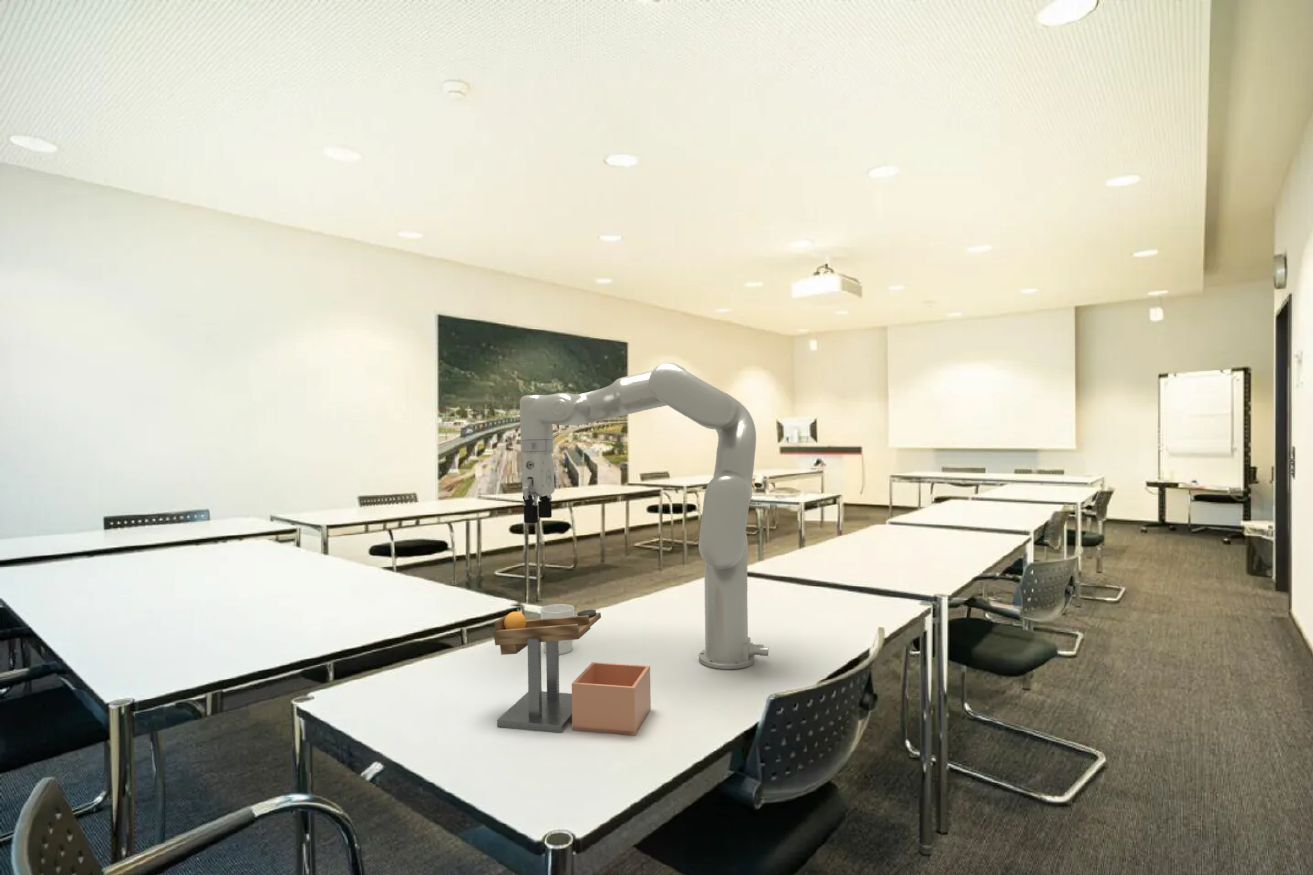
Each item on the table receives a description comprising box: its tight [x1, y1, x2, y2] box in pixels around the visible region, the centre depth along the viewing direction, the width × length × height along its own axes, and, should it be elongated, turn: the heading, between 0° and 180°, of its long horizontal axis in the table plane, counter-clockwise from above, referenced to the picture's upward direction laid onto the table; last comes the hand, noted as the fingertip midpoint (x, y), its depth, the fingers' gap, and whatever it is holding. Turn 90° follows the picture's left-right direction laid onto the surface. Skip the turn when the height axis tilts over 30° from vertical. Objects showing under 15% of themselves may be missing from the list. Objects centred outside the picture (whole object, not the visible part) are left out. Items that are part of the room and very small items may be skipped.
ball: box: [504, 611, 527, 630], centre depth 126 cm, size 4×4×4 cm
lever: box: [493, 609, 602, 656], centre depth 129 cm, size 16×15×6 cm
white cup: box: [540, 603, 575, 655], centre depth 162 cm, size 8×8×10 cm
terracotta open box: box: [571, 661, 652, 736], centre depth 122 cm, size 11×11×8 cm
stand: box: [496, 637, 572, 733], centre depth 125 cm, size 12×14×15 cm
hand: (538, 520), depth 161 cm, fingers open, 9 cm apart
